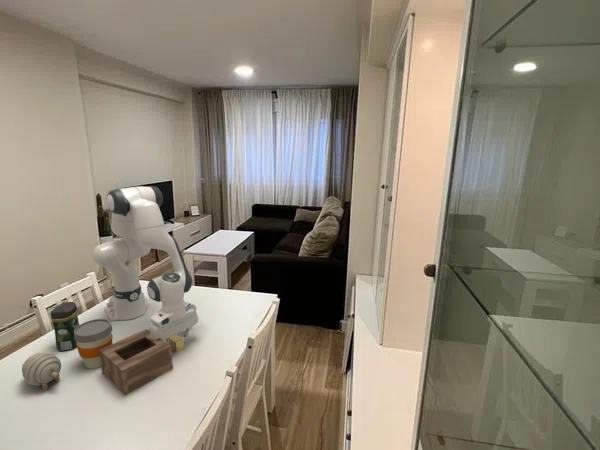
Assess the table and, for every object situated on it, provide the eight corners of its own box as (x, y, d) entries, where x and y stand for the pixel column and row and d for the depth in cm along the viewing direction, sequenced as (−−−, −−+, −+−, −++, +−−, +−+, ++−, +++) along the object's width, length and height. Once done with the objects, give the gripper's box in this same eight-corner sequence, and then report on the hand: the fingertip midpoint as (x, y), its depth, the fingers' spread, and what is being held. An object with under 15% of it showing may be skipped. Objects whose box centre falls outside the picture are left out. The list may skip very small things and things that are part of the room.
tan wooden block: (168, 347, 138) (168, 337, 136) (176, 344, 140) (175, 333, 139) (177, 353, 134) (176, 342, 133) (184, 349, 137) (183, 339, 136)
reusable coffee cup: (76, 375, 120) (70, 339, 117) (80, 355, 131) (75, 322, 127) (115, 365, 126) (110, 331, 122) (116, 347, 137) (112, 315, 133)
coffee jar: (65, 339, 142) (58, 300, 137) (85, 337, 143) (79, 299, 138) (53, 352, 132) (45, 311, 128) (74, 351, 134) (67, 310, 129)
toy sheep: (44, 368, 123) (39, 342, 121) (77, 378, 119) (72, 352, 116) (13, 387, 114) (6, 359, 111) (47, 399, 109) (42, 371, 106)
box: (102, 373, 122) (99, 349, 119) (148, 350, 136) (146, 328, 133) (125, 395, 111) (122, 370, 109) (172, 368, 125) (171, 345, 123)
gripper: (191, 300, 143) (193, 328, 146) (146, 319, 127) (149, 350, 130) (200, 305, 139) (201, 333, 143) (155, 324, 123) (158, 356, 127)
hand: (176, 341), depth 136 cm, fingers open, 8 cm apart
